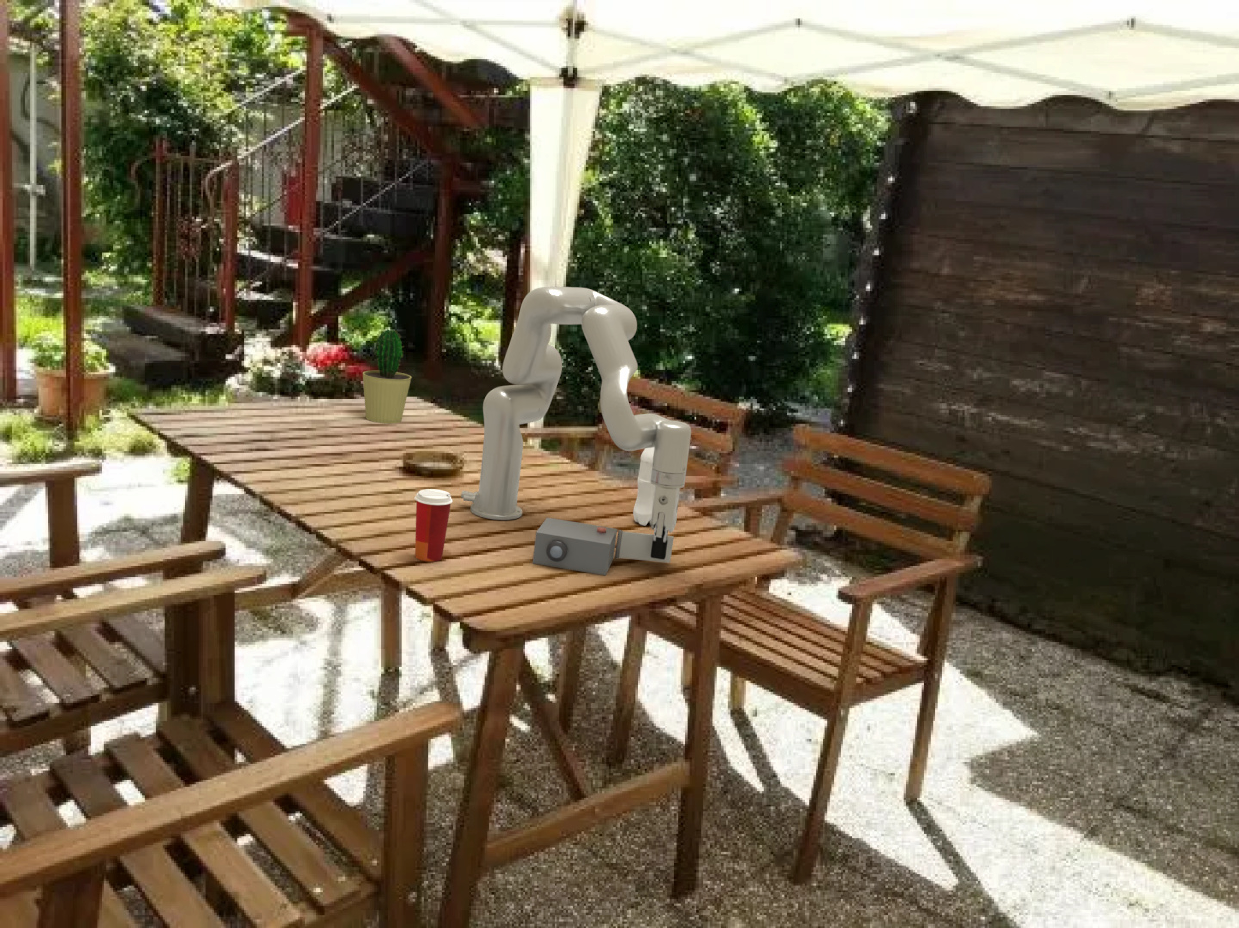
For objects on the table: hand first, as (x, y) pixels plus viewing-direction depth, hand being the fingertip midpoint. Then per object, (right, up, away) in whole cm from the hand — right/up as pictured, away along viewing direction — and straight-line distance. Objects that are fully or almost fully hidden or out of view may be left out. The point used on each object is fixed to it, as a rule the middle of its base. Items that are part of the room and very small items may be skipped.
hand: (657, 557), depth 236 cm
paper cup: (-49, +1, -12) cm, 50 cm away
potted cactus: (-85, +35, +110) cm, 144 cm away
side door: (-3, -1, +4) cm, 5 cm away
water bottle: (-2, +6, +33) cm, 34 cm away
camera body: (-19, -1, -2) cm, 19 cm away
